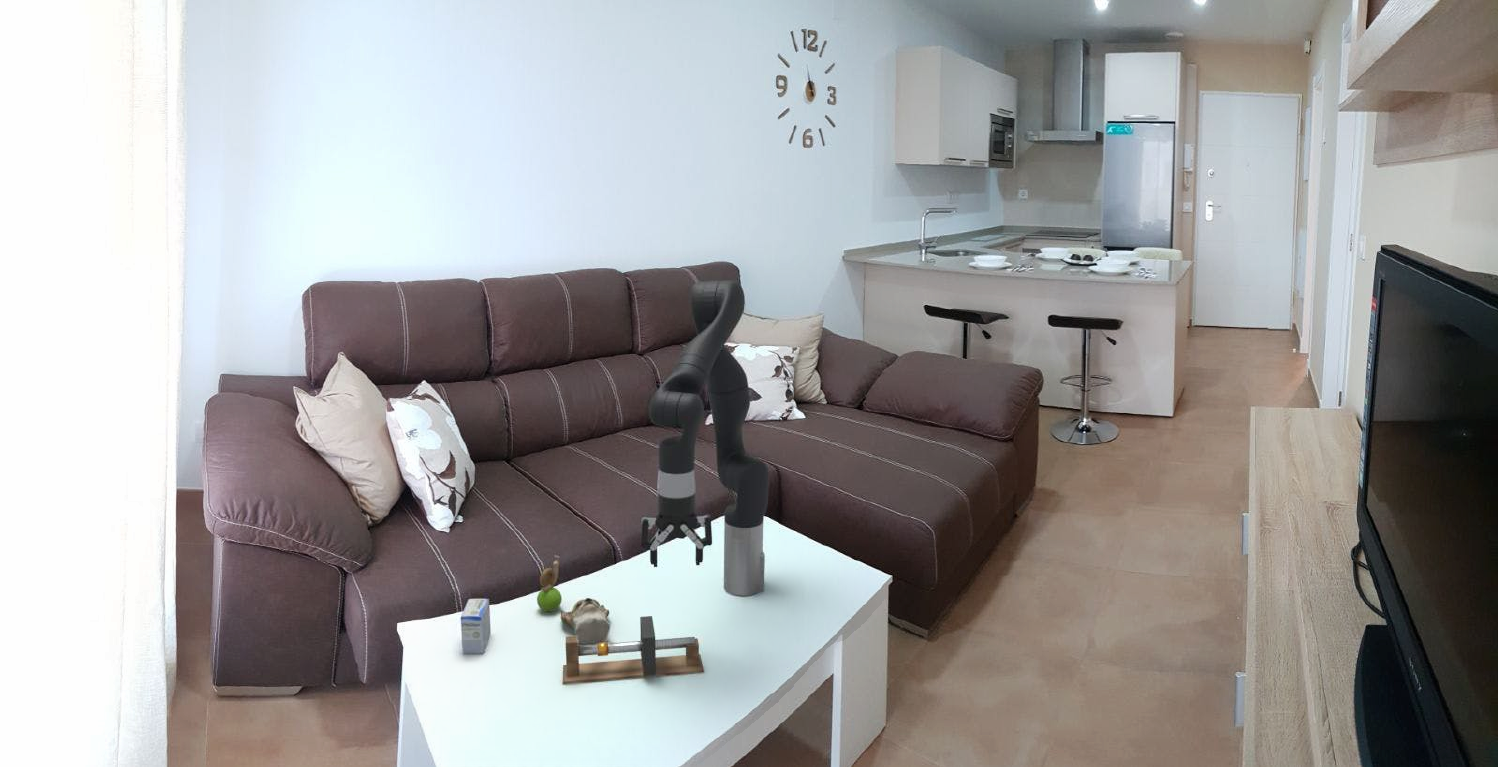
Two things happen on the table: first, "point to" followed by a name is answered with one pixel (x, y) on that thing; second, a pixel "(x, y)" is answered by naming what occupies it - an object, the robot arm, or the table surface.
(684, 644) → the pipe
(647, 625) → the dark grey frame
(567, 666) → the stand
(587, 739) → the table surface
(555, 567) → the snail figurine
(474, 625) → the medicine box
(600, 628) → the ceramic sculpture
